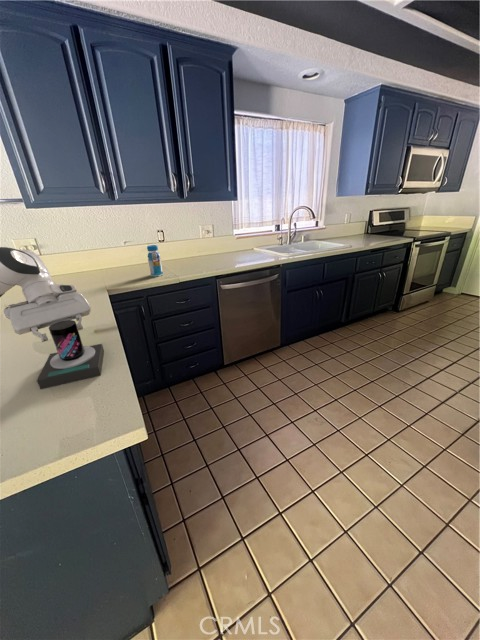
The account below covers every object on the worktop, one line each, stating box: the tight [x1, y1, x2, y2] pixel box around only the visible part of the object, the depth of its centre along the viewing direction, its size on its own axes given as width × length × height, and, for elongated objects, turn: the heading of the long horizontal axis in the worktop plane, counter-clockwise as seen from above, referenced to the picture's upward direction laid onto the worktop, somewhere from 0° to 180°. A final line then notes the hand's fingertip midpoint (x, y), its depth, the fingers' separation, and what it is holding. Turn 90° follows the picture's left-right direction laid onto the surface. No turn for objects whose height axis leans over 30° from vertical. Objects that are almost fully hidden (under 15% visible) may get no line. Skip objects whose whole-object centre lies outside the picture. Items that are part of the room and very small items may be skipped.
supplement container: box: [48, 319, 85, 361], centre depth 78 cm, size 7×7×10 cm
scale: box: [36, 343, 105, 390], centre depth 80 cm, size 15×15×4 cm
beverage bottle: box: [146, 244, 164, 277], centre depth 180 cm, size 8×8×20 cm
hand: (63, 334), depth 79 cm, fingers open, 8 cm apart
